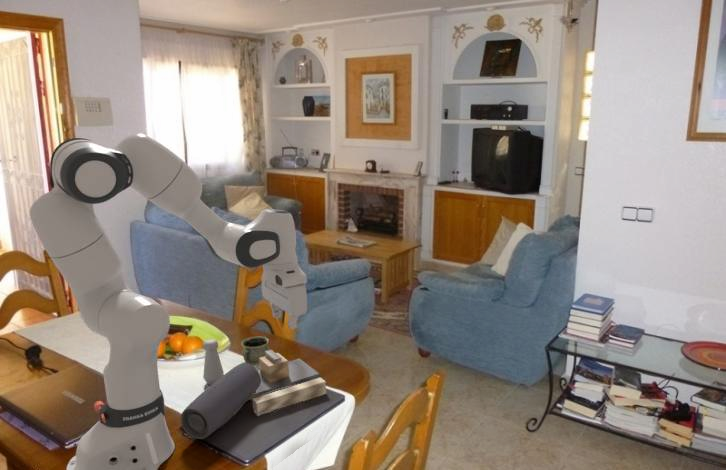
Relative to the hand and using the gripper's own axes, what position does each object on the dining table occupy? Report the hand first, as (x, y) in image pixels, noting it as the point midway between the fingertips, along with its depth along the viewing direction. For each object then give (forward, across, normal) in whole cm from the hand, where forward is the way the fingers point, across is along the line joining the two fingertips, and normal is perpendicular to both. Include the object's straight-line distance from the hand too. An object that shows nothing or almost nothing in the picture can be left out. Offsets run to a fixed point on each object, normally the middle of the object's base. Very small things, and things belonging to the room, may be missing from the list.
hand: (284, 322), depth 141 cm
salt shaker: (+23, -24, -13) cm, 36 cm away
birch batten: (+23, 0, 0) cm, 23 cm away
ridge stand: (+23, -14, +2) cm, 27 cm away
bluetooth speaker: (+22, -2, -17) cm, 28 cm away
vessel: (+23, -31, +3) cm, 39 cm away
